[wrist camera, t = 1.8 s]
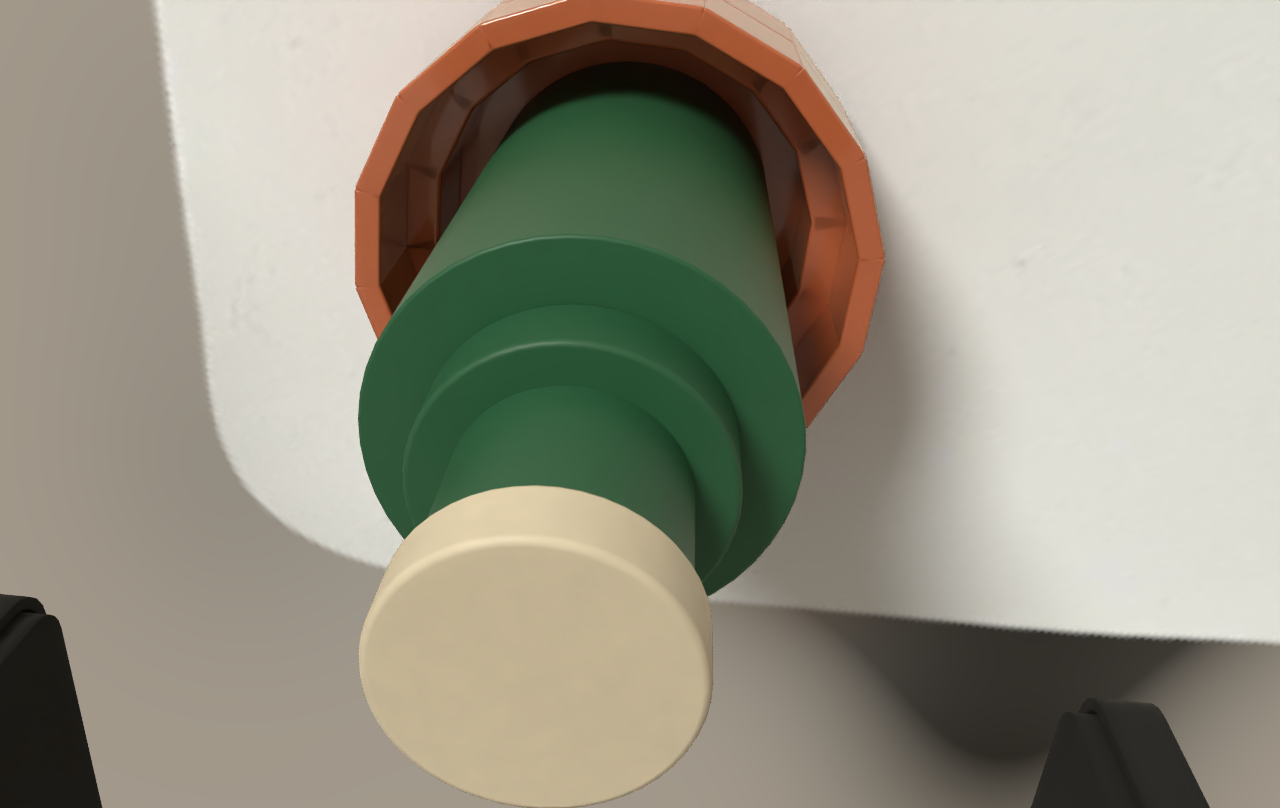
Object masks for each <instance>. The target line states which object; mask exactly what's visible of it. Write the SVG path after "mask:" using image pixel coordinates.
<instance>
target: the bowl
mask: <svg viewBox="0 0 1280 808" xmlns="http://www.w3.org/2000/svg"><path fill="white" fill-rule="evenodd" d="M626 61H627V62H642V63H649V64H654V65H659V66H664V67H667V68H670V69H673V70H676V71H679V72H682V73H684V74H686V75H688V76H690V77H692V78H694V79H696V80H698V81H700V82H701V83H702V84H704V85H705V86H707V87H708V88H710V89H711V90H713V91H714V92H715V93H717V94H718V95H719V96H720V97H721V98H722V99H723V100H724V101H725V102H727V103H728V104H729V105H730V107H731V108H732V109H733V110H734V111H735V112H736V114H737V115H738V116H739V117H740V118H741V120H742V121H743V123H744V124H745V126H746V128H747V129H748V131H749V132H750V134H751V136H752V138H753V140H754V142H755V144H756V147H757V149H758V151H759V154H760V157H761V161H762V164H763V167H764V172H765V179H766V185H767V191H768V197H769V203H770V209H771V215H772V221H773V227H774V233H775V240H776V246H777V252H778V258H779V264H780V270H781V276H782V282H783V288H784V294H785V301H786V307H787V313H788V319H789V325H790V331H791V337H792V343H793V349H794V355H795V362H796V368H797V374H798V380H799V386H800V392H801V398H802V404H803V411H804V417H805V423H806V428H807V427H808V426H809V425H810V424H811V422H812V421H813V420H814V418H815V417H816V416H817V414H818V413H819V412H820V410H821V409H822V408H823V406H824V405H825V403H826V402H827V401H828V399H829V398H830V397H831V395H832V394H833V393H834V391H835V390H836V389H837V387H838V386H839V385H840V383H841V382H842V381H843V379H844V378H845V376H846V375H847V374H848V372H849V371H850V370H851V368H852V367H853V366H854V364H855V363H856V362H857V360H858V359H859V358H860V356H861V354H862V353H861V352H863V350H864V347H865V342H866V338H867V334H868V330H869V326H870V321H871V317H872V313H873V309H874V305H875V300H876V296H877V292H878V288H879V284H880V280H881V275H882V271H883V267H884V263H885V259H884V257H885V252H884V247H883V241H882V236H881V231H880V225H879V220H878V215H877V210H876V204H875V199H874V194H873V188H872V183H871V178H870V172H869V167H868V162H867V158H866V156H865V153H864V151H863V149H862V147H861V145H860V143H859V141H858V138H857V136H856V134H855V132H854V130H853V128H852V126H851V124H850V122H849V120H848V118H847V115H846V113H845V111H844V109H843V107H842V105H841V103H840V101H839V99H838V97H837V96H836V94H835V93H834V91H833V90H832V88H831V87H830V86H829V84H828V83H827V81H826V80H825V78H824V77H823V75H822V74H821V73H820V71H819V70H818V68H817V67H816V65H815V64H814V62H813V61H812V60H811V58H810V57H809V55H808V54H807V52H806V51H805V49H804V48H803V47H802V45H801V44H800V42H799V41H798V39H797V38H796V37H795V35H794V34H793V32H792V31H791V29H790V28H788V27H787V26H786V24H785V23H784V22H782V21H780V20H779V19H777V18H775V17H774V16H772V15H771V14H769V13H767V12H766V11H764V10H762V9H761V8H759V7H758V6H756V5H754V4H753V3H751V2H749V1H748V0H503V1H501V2H500V3H499V4H498V5H497V6H496V7H494V8H493V9H492V10H491V11H490V12H489V13H488V14H486V15H485V16H484V17H483V18H482V19H481V20H479V21H478V22H477V23H476V24H475V25H474V26H473V27H471V28H470V29H469V30H468V31H467V32H466V33H465V34H463V35H462V36H461V37H460V38H459V39H458V40H456V41H455V42H454V43H453V44H452V45H451V46H450V47H448V48H447V49H446V50H445V51H444V52H443V53H442V54H441V55H440V56H439V57H437V58H436V59H435V60H434V61H433V62H432V63H431V64H430V65H429V66H428V67H426V68H425V69H424V70H423V71H422V72H421V73H420V74H419V75H418V76H416V77H415V78H414V79H413V80H412V81H411V82H410V83H409V84H408V85H407V86H405V87H404V88H403V89H402V90H401V91H400V92H399V94H398V95H397V96H396V97H395V99H394V102H393V104H392V106H391V108H390V110H389V113H388V115H387V117H386V119H385V122H384V124H383V126H382V128H381V131H380V133H379V135H378V137H377V140H376V142H375V144H374V146H373V148H372V151H371V153H370V155H369V157H368V160H367V162H366V164H365V166H364V169H363V171H362V173H361V175H360V178H359V180H358V182H357V184H356V190H355V285H356V290H357V292H358V295H359V297H360V299H361V302H362V304H363V306H364V309H365V311H366V313H367V316H368V318H369V320H370V323H371V325H372V327H373V330H374V332H375V334H376V337H377V339H378V338H379V337H380V335H381V333H382V332H383V330H384V328H385V327H386V325H387V323H388V322H389V320H390V318H391V317H392V315H393V313H394V312H395V310H396V309H397V307H398V305H399V304H400V302H401V301H402V299H403V297H404V296H405V294H406V293H407V291H408V289H409V288H410V286H411V285H412V283H413V281H414V280H415V278H416V277H417V275H418V273H419V272H420V270H421V269H422V267H423V265H424V264H425V262H426V261H427V259H428V257H429V256H430V254H431V253H432V251H433V249H434V248H435V246H436V245H437V243H438V241H439V240H440V238H441V237H442V235H443V233H444V232H445V230H446V229H447V227H448V225H449V224H450V222H451V221H452V219H453V217H454V216H455V214H456V212H457V211H458V209H459V208H460V206H461V204H462V203H463V201H464V200H465V198H466V196H467V195H468V193H469V192H470V190H471V188H472V187H473V185H474V184H475V182H476V180H477V179H478V177H479V176H480V174H481V172H482V171H483V169H484V168H485V166H486V164H487V163H488V161H489V160H490V158H491V156H492V155H493V153H494V152H495V150H496V148H497V147H498V145H499V144H500V142H501V140H502V139H503V137H504V136H505V134H506V132H507V131H508V129H509V128H510V126H511V124H512V123H513V121H514V120H515V118H516V117H517V116H518V114H519V113H520V112H521V111H522V109H523V108H524V107H525V106H526V105H527V104H528V103H529V102H530V101H531V100H532V99H533V98H534V97H535V96H536V95H537V94H538V93H539V92H541V91H542V90H543V89H545V88H546V87H548V86H549V85H550V84H552V83H553V82H555V81H557V80H559V79H560V78H562V77H564V76H566V75H568V74H570V73H572V72H575V71H578V70H581V69H584V68H586V67H590V66H594V65H599V64H604V63H612V62H626Z"/></svg>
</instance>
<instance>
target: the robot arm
mask: <svg viewBox="0 0 1280 808" xmlns="http://www.w3.org/2000/svg"><path fill="white" fill-rule="evenodd" d="M0 808H102V805H101V800H100V796H99V792H98V787H97V783H96V778H95V774H94V770H93V765H92V761H91V756H90V752H89V748H88V743H87V739H86V734H85V730H84V726H83V721H82V717H81V712H80V708H79V704H78V699H77V695H76V691H75V686H74V682H73V677H72V673H71V668H70V664H69V660H68V655H67V651H66V646H65V642H64V638H63V633H62V629H61V626H60V623H59V620H57V618H56V617H55V616H52V615H47V614H46V612H45V610H44V607H43V605H42V604H41V603H40V602H39V601H38V600H37V599H36V598H32V597H25V596H14V595H4V594H0ZM1031 808H1210V807H1209V805H1208V803H1207V801H1206V799H1205V797H1204V795H1203V793H1202V791H1201V789H1200V787H1199V785H1198V783H1197V781H1196V779H1195V777H1194V775H1193V773H1192V771H1191V769H1190V767H1189V765H1188V763H1187V761H1186V759H1185V757H1184V755H1183V753H1182V751H1181V749H1180V747H1179V745H1178V743H1177V741H1176V739H1175V737H1174V735H1173V733H1172V731H1171V729H1170V727H1169V725H1168V723H1167V721H1166V719H1165V717H1164V715H1163V714H1162V712H1161V711H1160V709H1159V708H1158V707H1157V706H1155V705H1154V704H1151V703H1140V702H1130V701H1119V700H1109V699H1098V698H1090V699H1087V700H1086V701H1085V702H1084V703H1083V704H1082V706H1081V708H1080V711H1079V712H1078V713H1075V712H1065V713H1064V714H1063V715H1062V717H1061V719H1060V721H1059V724H1058V727H1057V730H1056V733H1055V736H1054V739H1053V742H1052V745H1051V748H1050V751H1049V754H1048V757H1047V761H1046V763H1045V766H1044V770H1043V773H1042V776H1041V779H1040V782H1039V785H1038V788H1037V791H1036V794H1035V797H1034V800H1033V804H1032V806H1031Z"/></svg>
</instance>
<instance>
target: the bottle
mask: <svg viewBox="0 0 1280 808" xmlns="http://www.w3.org/2000/svg"><path fill="white" fill-rule="evenodd" d="M358 423H359V436H360V445H361V450H362V454H363V459H364V463H365V468H366V471H367V474H368V476H369V479H370V482H371V484H372V487H373V489H374V492H375V494H376V496H377V498H378V500H379V502H380V504H381V505H382V507H383V509H384V511H385V513H386V515H387V516H388V518H389V519H390V521H391V522H392V523H393V525H394V526H395V528H396V529H397V530H398V532H399V533H400V534H401V536H402V537H403V538H404V539H405V540H404V541H403V542H402V543H401V545H400V546H399V548H398V549H397V551H396V552H395V554H394V555H393V557H392V559H391V561H390V563H389V565H388V568H387V570H386V572H385V574H384V577H383V579H382V581H381V584H380V586H379V588H378V591H377V593H376V596H375V598H374V600H373V603H372V605H371V607H370V610H369V612H368V615H367V617H366V619H365V622H364V626H363V629H362V633H361V637H360V645H359V669H360V677H361V682H362V685H363V690H364V693H365V697H366V699H367V702H368V704H369V706H370V709H371V711H372V713H373V715H374V717H375V718H376V720H377V722H378V723H379V725H380V727H381V728H382V730H383V731H384V732H385V734H386V735H387V736H388V737H389V739H390V740H391V741H392V742H393V743H394V745H395V746H396V747H397V748H398V749H399V750H401V751H402V752H403V753H404V754H405V755H406V756H407V757H408V758H409V759H410V760H411V761H413V762H414V763H415V764H417V765H418V766H419V767H420V768H422V769H423V770H424V771H426V772H427V773H429V774H431V775H433V776H434V777H436V778H437V779H439V780H441V781H442V782H444V783H446V784H448V785H450V786H452V787H455V788H456V789H459V790H461V791H463V792H466V793H469V794H472V795H474V796H477V797H479V798H483V799H486V800H490V801H494V802H497V803H501V804H507V805H513V806H518V807H527V808H574V807H583V806H588V805H594V804H598V803H603V802H607V801H610V800H613V799H616V798H619V797H622V796H625V795H627V794H630V793H632V792H634V791H636V790H638V789H641V788H643V787H644V786H646V785H648V784H649V783H651V782H652V781H654V780H656V779H657V778H659V777H660V776H662V775H663V774H664V773H665V772H667V771H668V770H669V769H670V768H671V767H673V766H674V765H675V764H676V763H677V762H678V761H679V760H680V759H681V758H682V757H683V755H684V754H685V753H686V752H687V751H688V749H689V748H690V746H691V745H692V743H693V742H694V741H695V739H696V738H697V736H698V734H699V732H700V730H701V728H702V726H703V724H704V722H705V720H706V717H707V714H708V710H709V707H710V703H711V697H712V688H713V635H712V634H713V632H712V615H711V610H710V606H709V602H708V596H710V595H712V594H713V593H715V592H716V591H718V590H719V589H721V588H722V587H724V586H725V585H727V584H728V583H730V582H731V581H733V580H734V579H736V578H737V577H738V576H739V575H740V574H741V573H742V572H744V571H745V570H746V569H747V568H748V567H749V566H751V565H752V564H753V563H754V562H755V561H756V560H757V558H758V557H759V556H760V555H761V554H762V553H763V552H764V550H765V549H766V548H767V547H768V546H769V545H770V544H771V542H772V541H773V539H774V538H775V536H776V534H777V533H778V531H779V530H780V528H781V527H782V525H783V524H784V522H785V520H786V518H787V516H788V514H789V512H790V510H791V508H792V506H793V503H794V501H795V499H796V495H797V492H798V489H799V486H800V482H801V479H802V475H803V468H804V462H805V455H806V423H805V417H804V411H803V404H802V398H801V392H800V386H799V380H798V374H797V368H796V362H795V355H794V349H793V343H792V337H791V331H790V325H789V319H788V313H787V307H786V301H785V294H784V288H783V282H782V276H781V270H780V264H779V258H778V252H777V246H776V240H775V233H774V227H773V221H772V215H771V209H770V203H769V197H768V191H767V185H766V179H765V172H764V167H763V164H762V161H761V157H760V154H759V151H758V149H757V147H756V144H755V142H754V140H753V138H752V136H751V134H750V132H749V131H748V129H747V128H746V126H745V124H744V123H743V121H742V120H741V118H740V117H739V116H738V115H737V114H736V112H735V111H734V110H733V109H732V108H731V107H730V105H729V104H728V103H727V102H725V101H724V100H723V99H722V98H721V97H720V96H719V95H718V94H717V93H715V92H714V91H713V90H711V89H710V88H708V87H707V86H705V85H704V84H702V83H701V82H700V81H698V80H696V79H694V78H692V77H690V76H688V75H686V74H684V73H682V72H679V71H676V70H673V69H670V68H667V67H664V66H659V65H654V64H649V63H642V62H627V61H626V62H612V63H604V64H599V65H594V66H590V67H586V68H584V69H581V70H578V71H575V72H572V73H570V74H568V75H566V76H564V77H562V78H560V79H559V80H557V81H555V82H553V83H552V84H550V85H549V86H548V87H546V88H545V89H543V90H542V91H541V92H539V93H538V94H537V95H536V96H535V97H534V98H533V99H532V100H531V101H530V102H529V103H528V104H527V105H526V106H525V107H524V108H523V109H522V111H521V112H520V113H519V114H518V116H517V117H516V118H515V120H514V121H513V123H512V124H511V126H510V128H509V129H508V131H507V132H506V134H505V136H504V137H503V139H502V140H501V142H500V144H499V145H498V147H497V148H496V150H495V152H494V153H493V155H492V156H491V158H490V160H489V161H488V163H487V164H486V166H485V168H484V169H483V171H482V172H481V174H480V176H479V177H478V179H477V180H476V182H475V184H474V185H473V187H472V188H471V190H470V192H469V193H468V195H467V196H466V198H465V200H464V201H463V203H462V204H461V206H460V208H459V209H458V211H457V212H456V214H455V216H454V217H453V219H452V221H451V222H450V224H449V225H448V227H447V229H446V230H445V232H444V233H443V235H442V237H441V238H440V240H439V241H438V243H437V245H436V246H435V248H434V249H433V251H432V253H431V254H430V256H429V257H428V259H427V261H426V262H425V264H424V265H423V267H422V269H421V270H420V272H419V273H418V275H417V277H416V278H415V280H414V281H413V283H412V285H411V286H410V288H409V289H408V291H407V293H406V294H405V296H404V297H403V299H402V301H401V302H400V304H399V305H398V307H397V309H396V310H395V312H394V313H393V315H392V317H391V318H390V320H389V322H388V323H387V325H386V327H385V328H384V330H383V332H382V333H381V335H380V337H379V338H378V340H377V342H376V343H375V346H374V348H373V351H372V353H371V356H370V358H369V361H368V363H367V366H366V369H365V373H364V378H363V382H362V386H361V391H360V400H359V413H358Z"/></svg>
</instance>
